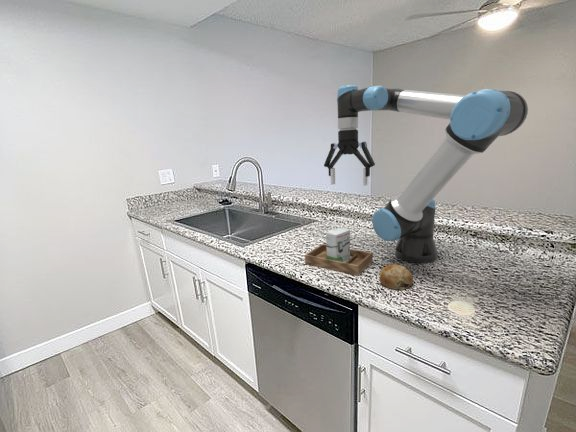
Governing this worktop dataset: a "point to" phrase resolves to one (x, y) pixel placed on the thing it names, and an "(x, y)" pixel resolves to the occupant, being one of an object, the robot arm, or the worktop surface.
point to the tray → (350, 266)
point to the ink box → (338, 244)
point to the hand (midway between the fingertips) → (348, 184)
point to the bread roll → (396, 277)
